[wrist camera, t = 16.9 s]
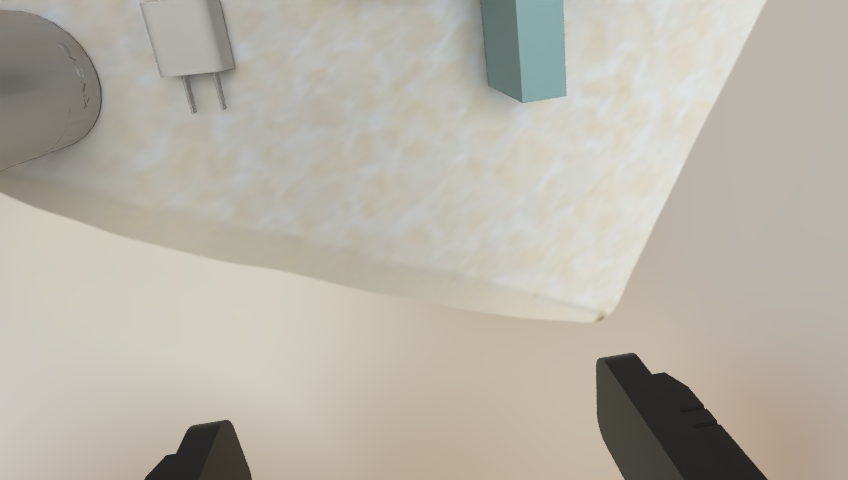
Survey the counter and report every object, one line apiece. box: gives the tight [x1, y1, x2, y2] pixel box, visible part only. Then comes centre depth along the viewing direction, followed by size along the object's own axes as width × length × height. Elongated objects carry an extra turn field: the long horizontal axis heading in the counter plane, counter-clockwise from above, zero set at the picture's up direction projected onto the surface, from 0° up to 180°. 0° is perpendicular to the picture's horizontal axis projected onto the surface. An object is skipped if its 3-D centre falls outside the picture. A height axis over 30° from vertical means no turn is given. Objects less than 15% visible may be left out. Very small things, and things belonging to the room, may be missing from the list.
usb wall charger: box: [140, 0, 235, 114], centre depth 34 cm, size 4×7×4 cm, turn 6°
